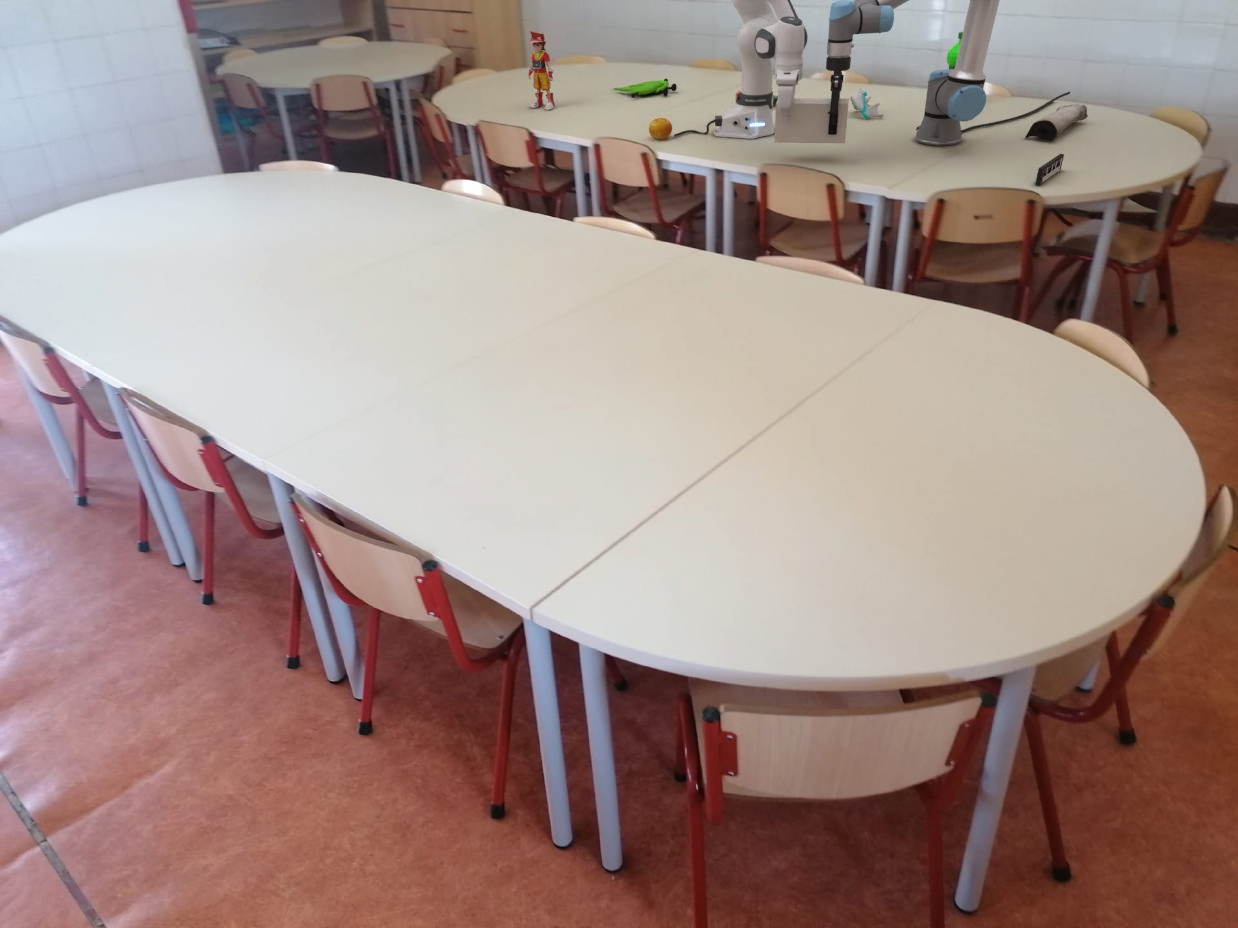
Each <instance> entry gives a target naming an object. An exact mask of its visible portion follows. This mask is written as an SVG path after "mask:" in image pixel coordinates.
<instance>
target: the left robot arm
mask: <svg viewBox="0 0 1238 928" xmlns="http://www.w3.org/2000/svg"><path fill="white" fill-rule="evenodd" d="M731 2H732V4H733V7H734V8H735V9H736V11H737V12H738V15H739V16H740V18H741V21H742V23H743V24H742V26H741V27H740V28H739V31H738V33H737V36H736V44H737V47H738V51H739V59H740V67H741V90H737V91H736V92H735V103H734V104H733V105H732V106H730V107H729V108H727V110H726V111H724V113H722V114H721V115H714V119H712V120H711V121H709V122H708V123H707V124H706V131H704V132H701V131H698V130H694V129H688V130H683V131H680V132H677V133H674V134H673V136H674V137H679V136H682V135H685V134H688V133H694V134H699V135H707V134H709V133H710V126H711V125H712V124H714V127H715V128H714V130H713V135H714V136H715V137H721V138H722V137H723V138H736V139H737V138H738V139H750V140H753V139H754V140H755V139H758V138H761V137H766V136H770V135H773V134H775V125H774V120H773V107H774V106H773V95H774V91H773V77H774V80H775V84H776V85H777V96H778V106H779V110H782V121H788V113H789V110H790V108H791V105H792V101H793V99H795V96H796V86H798V85H799V81H801V80H802V79H803V71H804V59H803V54H804V50H805V48H806V46H807V44H808V31H807V29H806V26H805V24H804V22H803V20H802V19H801V18H799V16H798V14H797V12H796V11H795V8H794V5H793V4H792V1H791V0H732V1H731ZM772 59H774V60H775V63H774V67H773V65H772ZM773 75H774V76H773Z"/></svg>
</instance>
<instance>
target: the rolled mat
mask: <svg viewBox="0 0 1238 928" xmlns="http://www.w3.org/2000/svg"><path fill="white" fill-rule="evenodd" d="M1088 116H1089V115H1088V108H1087V105H1085V104H1079V103H1075V104H1068V105H1062V106H1059V107H1057V108H1056V109H1055V111H1053V112H1052V113H1049V114H1048V115H1046V116H1044V117H1042V118H1040V119H1039V120H1037V121H1035V122H1033V124H1032V125H1031V126H1030V128H1029V130H1028V131H1027V133H1026V135H1025V137H1024V138H1025V139H1026V140H1027V139H1029V138H1030V137H1035V138H1037V139H1039V140H1040V141H1045V142H1053V141H1054V140H1055V139H1057V138H1058V137H1059V136H1060V135H1061V134H1062V133H1063V131H1064V130H1065V129H1067V128H1068V127H1069V126H1071V125H1072V124H1074V123H1076V122H1079V121H1080V122H1081V121H1085V120H1086V119H1087V118H1088Z"/></svg>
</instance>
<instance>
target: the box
mask: <svg viewBox="0 0 1238 928" xmlns="http://www.w3.org/2000/svg"><path fill="white" fill-rule="evenodd" d="M849 101H850V98H840V99H839V105H838V123H837V134H836V135H828V128H829V115H830V114H828V112H830V106H831V98H794V99H793V101H792V105H791V108H790V110H789V113H788V121H782V110H779V106H778V100H777V102H776V105H775V117H774V118H775V119H774V130H775V132H774V141H773V142H774V143H776V144H777V143H779V144H781V143H782V144H783V143H785V144H787V143H788V144H846V138H847V137H846V135H847V125H848V115H849V113H848V112H849V103H850V102H849Z"/></svg>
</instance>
